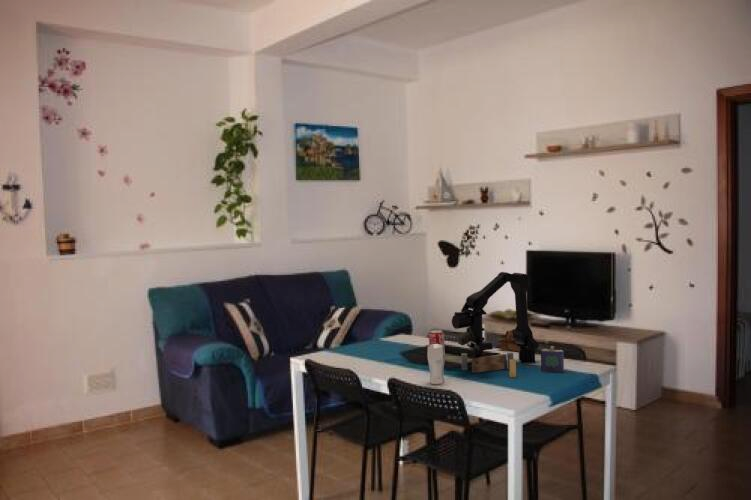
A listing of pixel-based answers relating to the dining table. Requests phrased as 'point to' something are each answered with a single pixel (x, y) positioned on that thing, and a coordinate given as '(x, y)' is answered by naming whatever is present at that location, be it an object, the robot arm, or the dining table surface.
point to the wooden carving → (508, 342)
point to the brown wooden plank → (489, 363)
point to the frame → (510, 363)
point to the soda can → (436, 337)
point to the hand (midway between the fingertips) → (476, 361)
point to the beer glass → (436, 363)
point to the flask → (552, 360)
